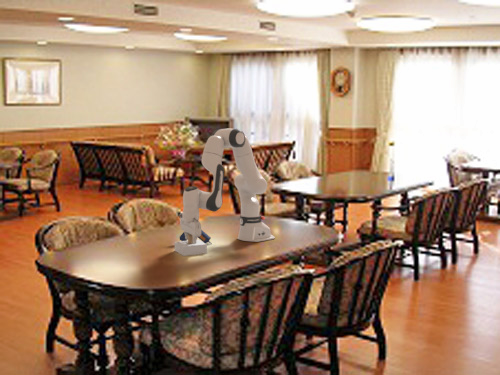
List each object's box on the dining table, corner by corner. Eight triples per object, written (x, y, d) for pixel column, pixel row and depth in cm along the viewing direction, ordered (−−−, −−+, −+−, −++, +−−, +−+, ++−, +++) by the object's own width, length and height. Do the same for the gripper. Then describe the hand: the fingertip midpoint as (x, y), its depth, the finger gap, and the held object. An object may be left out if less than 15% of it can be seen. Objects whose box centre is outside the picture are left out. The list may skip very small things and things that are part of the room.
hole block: (197, 248, 374) (197, 239, 373) (206, 253, 364) (206, 244, 363) (174, 250, 367) (174, 242, 367) (183, 255, 357) (183, 246, 356)
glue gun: (201, 258, 386) (213, 242, 382) (167, 231, 387) (179, 215, 383) (203, 255, 390) (215, 240, 387) (170, 228, 392) (182, 213, 388)
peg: (191, 251, 368) (192, 233, 366) (194, 252, 365) (194, 234, 364) (186, 251, 366) (187, 233, 365) (189, 252, 364) (189, 235, 362)
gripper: (204, 219, 355) (204, 244, 357) (188, 212, 373) (188, 236, 375) (193, 220, 352) (193, 245, 354) (178, 213, 370) (178, 237, 372)
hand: (190, 241), depth 365 cm, fingers open, 8 cm apart
